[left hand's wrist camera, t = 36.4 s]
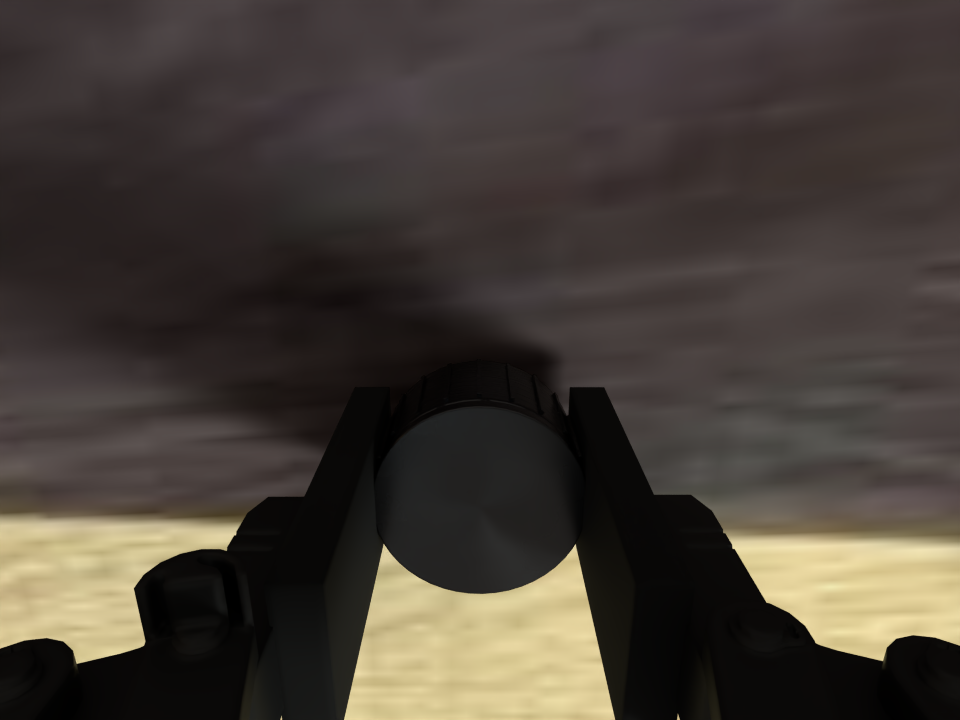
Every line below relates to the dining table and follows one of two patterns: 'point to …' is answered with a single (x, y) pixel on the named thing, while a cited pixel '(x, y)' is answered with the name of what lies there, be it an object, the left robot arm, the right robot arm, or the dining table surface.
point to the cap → (479, 479)
